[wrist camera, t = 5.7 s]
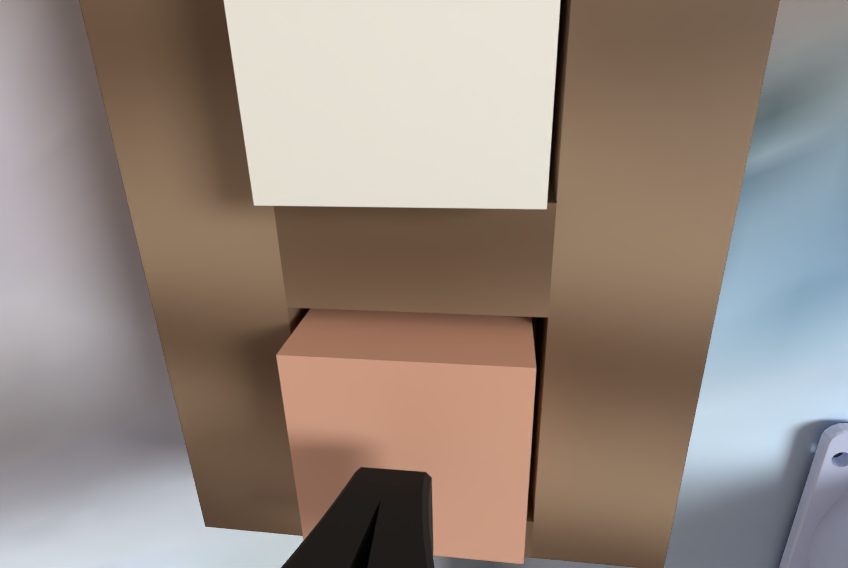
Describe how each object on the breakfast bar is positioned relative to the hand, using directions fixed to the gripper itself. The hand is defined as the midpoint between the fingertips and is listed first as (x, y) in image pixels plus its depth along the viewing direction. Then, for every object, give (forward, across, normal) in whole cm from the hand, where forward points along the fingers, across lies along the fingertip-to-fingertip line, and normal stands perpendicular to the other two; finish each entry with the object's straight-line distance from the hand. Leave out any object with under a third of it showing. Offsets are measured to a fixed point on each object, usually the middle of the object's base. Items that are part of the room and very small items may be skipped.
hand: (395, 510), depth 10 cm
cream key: (+4, 0, -8) cm, 9 cm away
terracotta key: (+4, 0, 0) cm, 4 cm away
